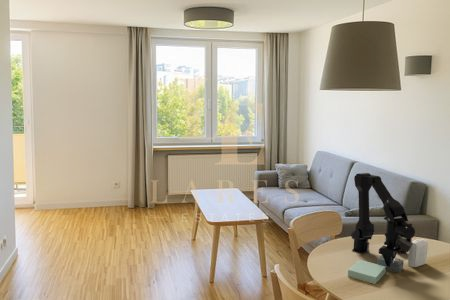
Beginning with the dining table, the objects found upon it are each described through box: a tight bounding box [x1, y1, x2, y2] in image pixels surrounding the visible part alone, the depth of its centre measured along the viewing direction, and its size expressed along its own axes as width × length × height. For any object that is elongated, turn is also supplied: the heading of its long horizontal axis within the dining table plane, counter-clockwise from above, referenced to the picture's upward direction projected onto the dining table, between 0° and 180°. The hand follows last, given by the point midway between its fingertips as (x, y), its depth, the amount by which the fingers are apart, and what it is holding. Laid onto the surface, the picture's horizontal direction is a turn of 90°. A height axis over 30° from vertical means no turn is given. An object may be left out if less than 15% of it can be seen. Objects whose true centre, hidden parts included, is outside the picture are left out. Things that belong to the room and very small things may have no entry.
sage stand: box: [347, 259, 386, 285], centre depth 194 cm, size 12×14×3 cm
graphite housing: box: [376, 254, 405, 274], centre depth 201 cm, size 10×6×5 cm, turn 51°
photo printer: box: [407, 238, 429, 268], centre depth 205 cm, size 10×4×12 cm, turn 123°
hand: (390, 264), depth 201 cm, fingers closed on graphite housing, 6 cm apart
